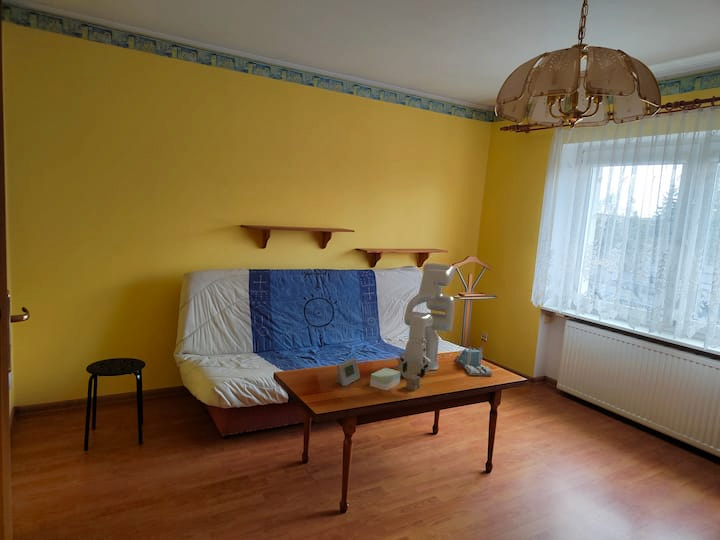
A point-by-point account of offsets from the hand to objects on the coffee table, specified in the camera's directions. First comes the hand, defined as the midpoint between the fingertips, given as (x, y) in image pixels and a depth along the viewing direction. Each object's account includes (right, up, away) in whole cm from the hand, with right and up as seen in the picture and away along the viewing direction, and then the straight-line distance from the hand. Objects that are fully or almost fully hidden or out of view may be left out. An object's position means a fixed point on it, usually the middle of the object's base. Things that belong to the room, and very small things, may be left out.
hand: (413, 373), depth 231 cm
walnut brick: (0, -8, +2) cm, 8 cm away
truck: (+39, -6, +40) cm, 56 cm away
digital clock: (-33, -5, +5) cm, 33 cm away
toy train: (+1, -6, +20) cm, 21 cm away
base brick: (-14, -6, +5) cm, 16 cm away
